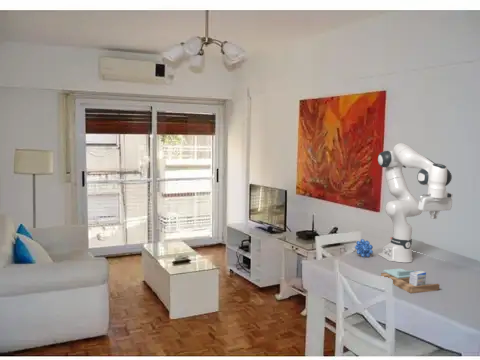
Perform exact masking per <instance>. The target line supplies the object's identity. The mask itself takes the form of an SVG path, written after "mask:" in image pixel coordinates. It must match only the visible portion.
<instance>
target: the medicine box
mask: <svg viewBox="0 0 480 360" xmlns="http://www.w3.org/2000/svg"><path fill="white" fill-rule="evenodd" d="M413 271H414V272H410V281H409V283H410V284H412V285H414V286H421V285H426V282H427V281H426V280H427V279H426V278H427V272H426V271H424V270H413Z"/></svg>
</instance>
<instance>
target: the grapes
mask: <svg viewBox="0 0 480 360" xmlns="http://www.w3.org/2000/svg"><path fill="white" fill-rule="evenodd" d="M354 249H355V250H356V254H357V255H360V257H362V258H365V257H366V258H370V256H371V255H372V254H374V253H373V252H374V251H373V245H372V244H370V241H369V240H365V239H363V238H361V239H360V240H357V241H356V245H355V246H354Z"/></svg>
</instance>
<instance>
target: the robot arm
mask: <svg viewBox="0 0 480 360" xmlns="http://www.w3.org/2000/svg"><path fill="white" fill-rule="evenodd" d="M377 163H378V165H379V166H380V167H381V168H385V169H384V175H385V179H386V184H387V187H388V192H389V194H390V195H391V196H393V197H394V198H396V199H394V200H390V201H388V202H386V205H385V208H384V209H385V213H386V214H387V216H389V218H390V219H391V221H392V225H393V226H392V228H393V232H392V236H391V237H389V238H390V242H388V243H387V244H386V245H384V246H383V247H382V252H378V255H379V256H380V257H382V258H383V259H385V260H387V261H389V262H396V263H404V264H405V263H412V262H413V260H414V258H413V250H412V249H413V248H412V243H413V240H412V231H413V227H412V225H411V224H410V223H408V221H407V218H408V217H409V218H411V217H416V216H419V215H421V214H422V213H423V212H429V215H430V219H431V220H434V219H435V220H436V219H438V215H440V211H441V212H443V211H451V210H452V206H453V199H452V198H453V193H451V192H449V191H446V190H447V188H446V186H448V185H449V184H450V183H451V182H452V180H453V179H452V178H453V176H452V173H451V171H450V170H449V169H448V168H447V165H444V164H443V163H435V162H434V161H432V160H431V159H430V158H428V157H426V156H425V155H422V154H420V153H419V152H417V151H416V150H415V149H414V148H412V147H411V146H410V145H408V144H406V143H403V142H399V143H397V144H395V145H394V146H393V149H391V150H384V151H382V152H379V153H378V156H377ZM403 168H405V169H406V168H409V169H418V170H419V171H418V173H417V177H416V178H417V182H418V183H419V184H420V185H422V186H428V187H427V194H425V193H424V194H421V196H420V199H419V200H418V199H417V198H415V196H414V195H413V194H412V193H411V191H410V190H409V187H408V186H407V185H408V184H407V182H406V178H405V176H404V173H403Z"/></svg>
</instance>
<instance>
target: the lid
mask: <svg viewBox="0 0 480 360" xmlns="http://www.w3.org/2000/svg"><path fill="white" fill-rule="evenodd" d="M414 271H415V270H413V269H409V270H406V269H404V268H392V269H390V268H389V269H383V273H388V274H390V275H392V276H394V277H396V278H407V277H410V272H414Z"/></svg>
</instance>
